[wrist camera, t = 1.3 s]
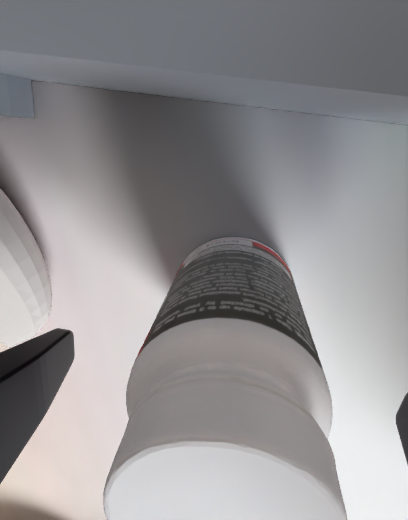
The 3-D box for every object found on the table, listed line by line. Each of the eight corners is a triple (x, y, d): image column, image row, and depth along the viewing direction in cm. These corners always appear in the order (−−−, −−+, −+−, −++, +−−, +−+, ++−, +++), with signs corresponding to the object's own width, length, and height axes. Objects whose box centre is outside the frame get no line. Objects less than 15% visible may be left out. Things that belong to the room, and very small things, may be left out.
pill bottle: (158, 255, 13) (20, 446, 5) (274, 217, 11) (332, 389, 4) (201, 349, 14) (146, 611, 6) (307, 323, 13) (397, 605, 5)
